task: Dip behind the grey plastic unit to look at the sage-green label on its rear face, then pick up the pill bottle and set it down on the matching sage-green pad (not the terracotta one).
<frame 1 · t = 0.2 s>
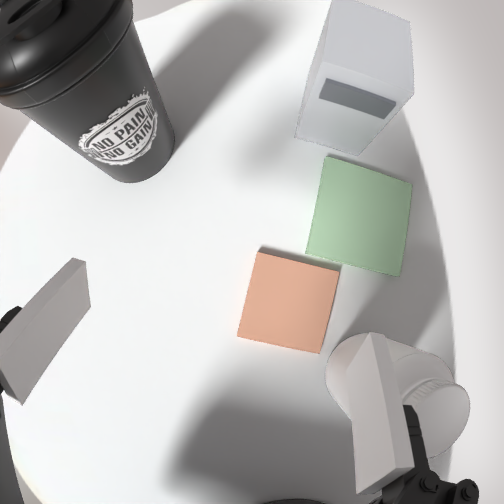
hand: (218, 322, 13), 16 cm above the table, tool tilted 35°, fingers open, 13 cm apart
green pad: (362, 217, 31), on the table
terracotta pad: (288, 303, 30), on the table
pill bottle: (359, 368, 30), on the table
water bottle: (136, 146, 31), on the table
unit: (332, 111, 32), on the table
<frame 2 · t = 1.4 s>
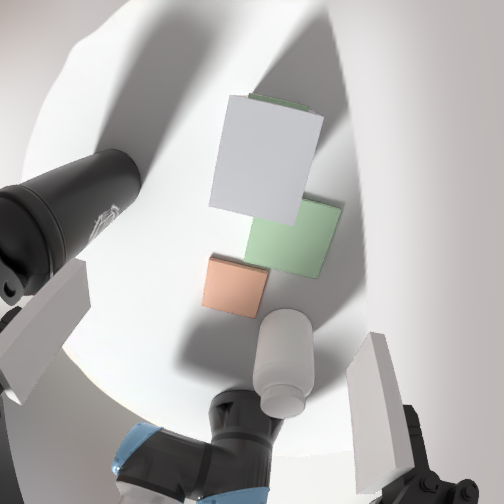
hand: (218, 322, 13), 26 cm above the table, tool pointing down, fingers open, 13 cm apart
green pad: (290, 234, 40), on the table
terracotta pad: (233, 287, 45), on the table
pill bottle: (286, 326, 47), on the table
water bottle: (113, 179, 39), on the table
unit: (272, 139, 35), on the table
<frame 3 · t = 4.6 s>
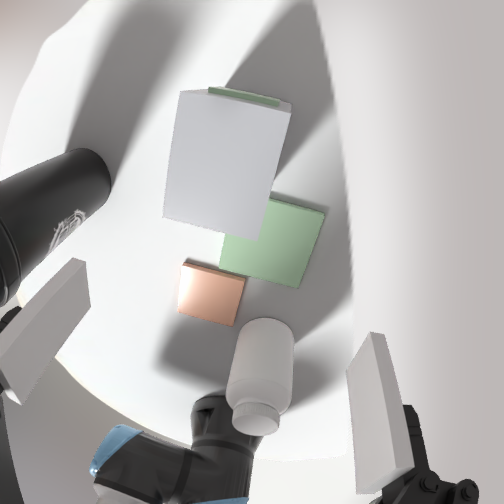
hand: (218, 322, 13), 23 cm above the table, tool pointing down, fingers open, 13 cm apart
green pad: (269, 240, 37), on the table
terracotta pad: (210, 294, 42), on the table
pill bottle: (266, 335, 44), on the table
water bottle: (84, 179, 36), on the table
unit: (247, 136, 31), on the table
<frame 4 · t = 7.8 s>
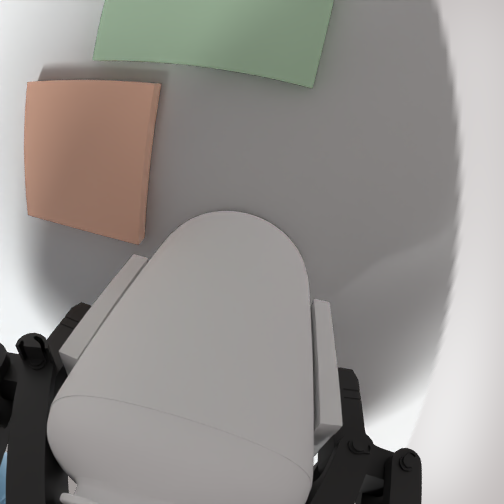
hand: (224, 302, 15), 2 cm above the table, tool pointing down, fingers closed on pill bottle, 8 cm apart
terracotta pad: (83, 154, 14), on the table
pill bottle: (232, 274, 17), on the table, touching gripper
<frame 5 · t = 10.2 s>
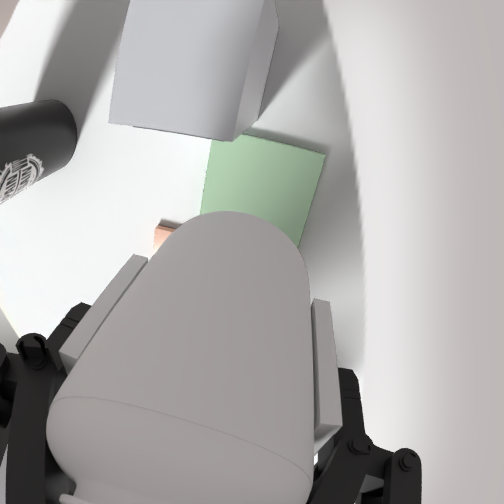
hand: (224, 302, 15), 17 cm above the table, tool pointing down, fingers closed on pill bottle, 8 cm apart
green pad: (258, 191, 29), on the table
pill bottle: (232, 274, 17), point 14 cm above the table, touching gripper
water bottle: (50, 135, 29), on the table
unit: (228, 65, 24), on the table
when the fingers open (4 cm above the table, at t = 12.8 s): pill bottle drops 1 cm, resting on green pad.
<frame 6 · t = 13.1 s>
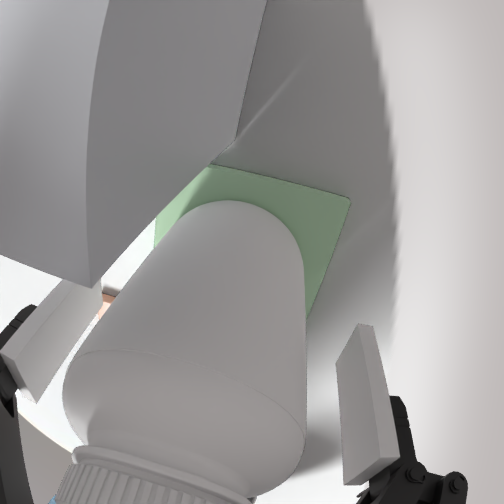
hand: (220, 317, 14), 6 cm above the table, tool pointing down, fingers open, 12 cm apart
green pad: (239, 255, 19), on the table
pill bottle: (233, 260, 18), point 1 cm above the table, touching green pad
unit: (185, 48, 13), on the table
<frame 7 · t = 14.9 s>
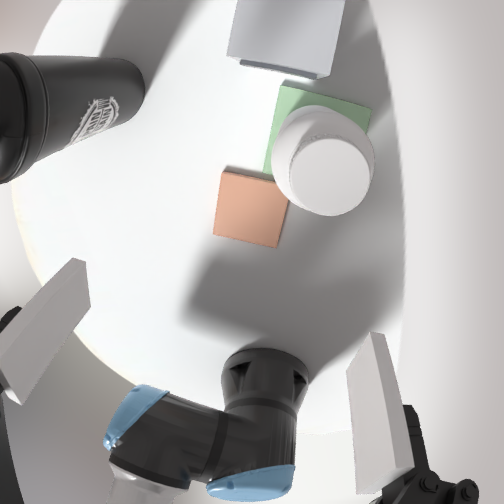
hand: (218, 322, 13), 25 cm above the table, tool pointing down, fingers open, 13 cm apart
green pad: (316, 138, 33), on the table
terracotta pad: (250, 209, 38), on the table
pill bottle: (314, 139, 32), point 1 cm above the table, touching green pad
water bottle: (115, 91, 32), on the table
unit: (291, 34, 27), on the table
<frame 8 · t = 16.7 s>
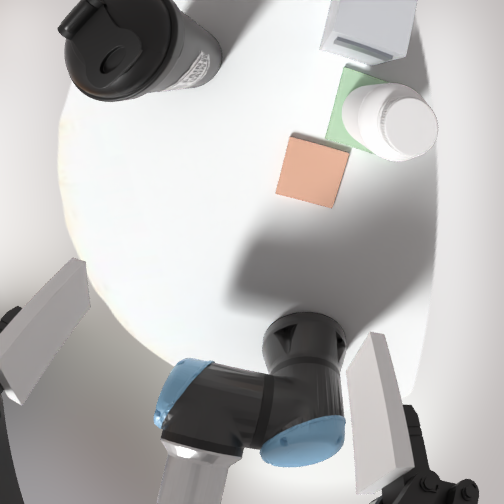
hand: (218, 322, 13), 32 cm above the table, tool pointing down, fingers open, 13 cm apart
green pad: (370, 114, 36), on the table
terracotta pad: (311, 172, 41), on the table
pill bottle: (369, 114, 36), point 1 cm above the table, touching green pad
water bottle: (191, 58, 35), on the table
unit: (353, 27, 31), on the table
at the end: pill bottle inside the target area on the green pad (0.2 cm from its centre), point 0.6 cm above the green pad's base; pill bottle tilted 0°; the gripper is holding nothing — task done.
